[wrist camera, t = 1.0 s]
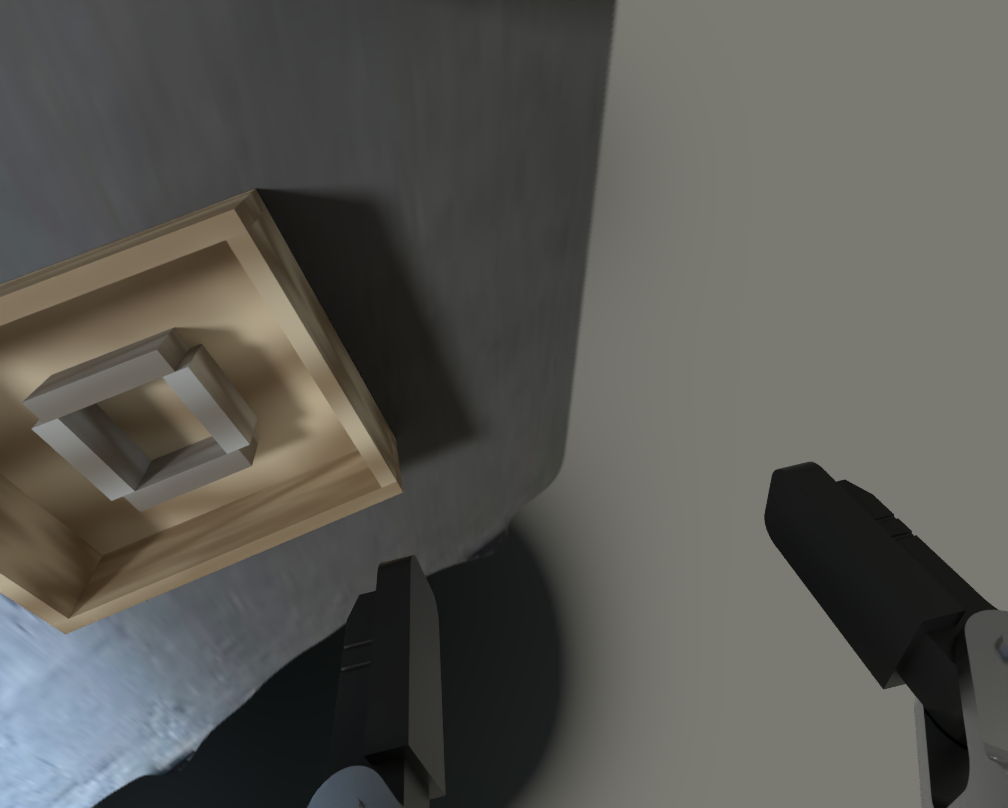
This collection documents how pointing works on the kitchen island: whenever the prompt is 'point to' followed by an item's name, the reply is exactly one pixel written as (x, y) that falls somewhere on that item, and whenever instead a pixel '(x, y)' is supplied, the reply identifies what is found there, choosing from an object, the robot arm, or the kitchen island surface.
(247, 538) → the walled box
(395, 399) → the kitchen island surface
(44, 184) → the kitchen island surface
